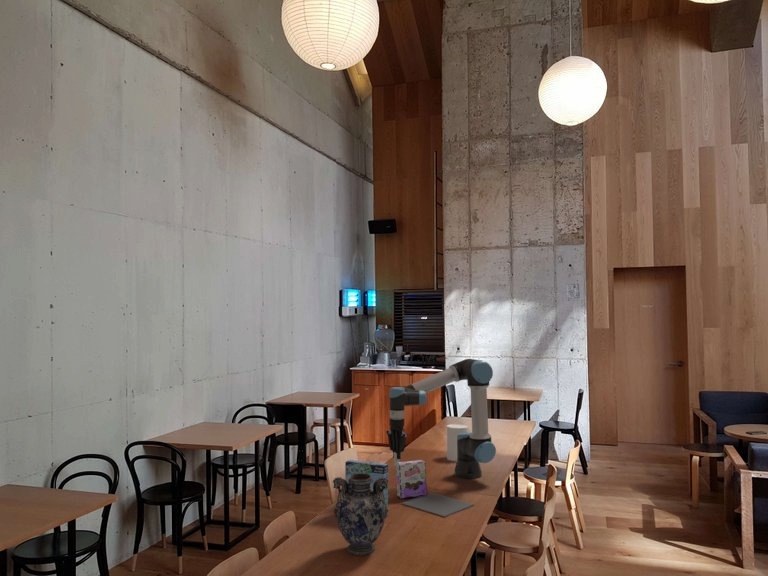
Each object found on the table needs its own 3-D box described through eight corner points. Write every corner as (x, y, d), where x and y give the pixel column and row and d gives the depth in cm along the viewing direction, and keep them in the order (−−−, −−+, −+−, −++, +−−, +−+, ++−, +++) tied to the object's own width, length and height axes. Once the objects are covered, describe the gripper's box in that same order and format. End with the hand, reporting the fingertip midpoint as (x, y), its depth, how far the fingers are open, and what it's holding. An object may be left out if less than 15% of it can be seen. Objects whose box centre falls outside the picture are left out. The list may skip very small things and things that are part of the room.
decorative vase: (388, 539, 237) (387, 468, 237) (390, 559, 218) (389, 483, 219) (334, 540, 236) (334, 469, 237) (331, 560, 217) (331, 484, 218)
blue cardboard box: (344, 513, 268) (344, 461, 269) (349, 509, 273) (349, 459, 274) (384, 519, 260) (383, 466, 261) (388, 515, 265) (388, 463, 266)
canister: (443, 457, 370) (443, 424, 370) (463, 455, 374) (463, 423, 374) (452, 462, 357) (452, 428, 357) (472, 460, 361) (472, 427, 362)
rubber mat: (431, 493, 296) (431, 492, 296) (474, 505, 278) (474, 504, 278) (401, 504, 280) (401, 502, 280) (444, 517, 262) (444, 516, 262)
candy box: (400, 498, 287) (398, 464, 288) (397, 495, 292) (395, 461, 294) (427, 495, 290) (425, 461, 292) (423, 492, 296) (421, 459, 297)
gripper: (382, 417, 302) (382, 464, 301) (401, 420, 293) (401, 469, 292) (392, 415, 307) (392, 461, 306) (411, 418, 298) (411, 466, 297)
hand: (396, 465), depth 299 cm, fingers closed
